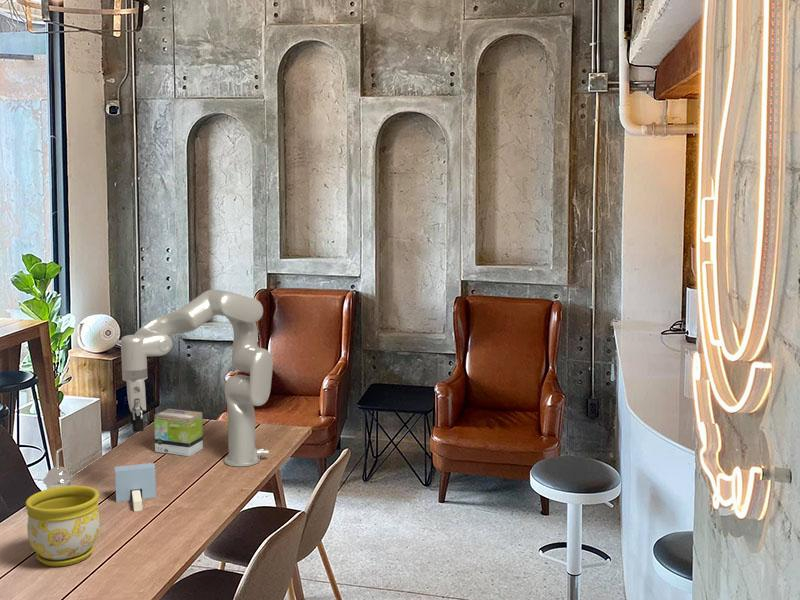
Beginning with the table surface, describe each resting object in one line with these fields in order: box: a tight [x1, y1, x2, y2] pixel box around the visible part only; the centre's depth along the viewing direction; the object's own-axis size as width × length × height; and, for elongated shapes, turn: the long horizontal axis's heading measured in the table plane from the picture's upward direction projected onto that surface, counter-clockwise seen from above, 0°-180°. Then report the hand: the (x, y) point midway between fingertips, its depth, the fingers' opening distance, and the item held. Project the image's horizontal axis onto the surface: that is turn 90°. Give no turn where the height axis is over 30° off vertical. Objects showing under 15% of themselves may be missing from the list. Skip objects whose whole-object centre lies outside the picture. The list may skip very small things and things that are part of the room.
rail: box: [130, 489, 143, 512], centre depth 261 cm, size 2×24×3 cm, turn 21°
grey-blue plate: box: [114, 462, 157, 503], centre depth 261 cm, size 12×4×10 cm, turn 111°
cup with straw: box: [43, 442, 74, 490], centre depth 249 cm, size 8×9×20 cm
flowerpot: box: [25, 485, 101, 567], centre depth 218 cm, size 18×18×16 cm
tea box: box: [153, 408, 204, 458], centre depth 308 cm, size 15×10×15 cm, turn 73°
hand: (137, 427), depth 261 cm, fingers open, 9 cm apart
